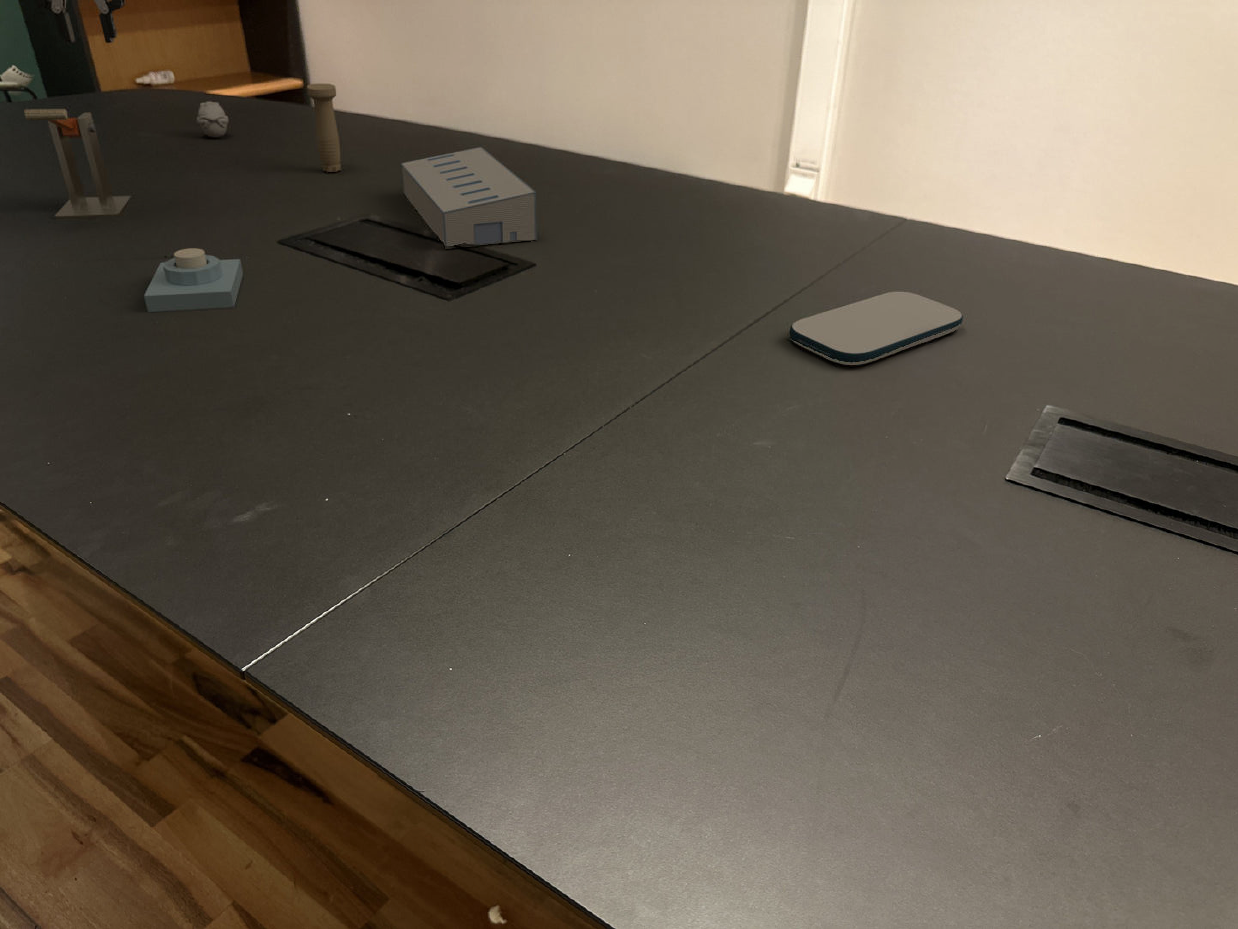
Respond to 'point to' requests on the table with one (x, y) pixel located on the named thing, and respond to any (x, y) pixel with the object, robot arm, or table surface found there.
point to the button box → (194, 286)
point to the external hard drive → (874, 326)
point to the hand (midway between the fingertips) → (90, 41)
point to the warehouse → (470, 198)
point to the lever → (56, 120)
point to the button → (190, 258)
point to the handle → (326, 125)
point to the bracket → (78, 202)
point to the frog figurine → (212, 119)
